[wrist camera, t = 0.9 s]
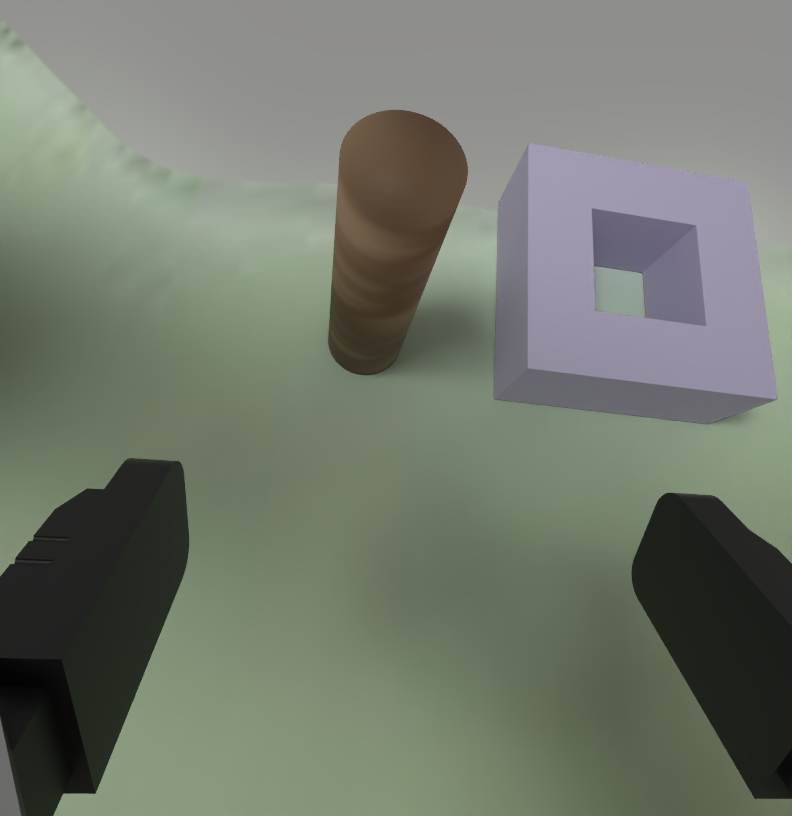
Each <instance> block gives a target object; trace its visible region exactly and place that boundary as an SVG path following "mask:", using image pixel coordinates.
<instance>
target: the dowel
mask: <svg viewBox="0 0 792 816" xmlns="http://www.w3.org/2000/svg"><path fill="white" fill-rule="evenodd" d="M467 175H468V166H467V161H466V157H465V154H464V152H463V150H462V148H461V146H460V144H459V143H458V141H457V140H456V138H455V137H454V136H453V135H452V134H451V133H450V132H449V131H448V130H447V129H446V128H445V127H443V126H442V125H441V124H439V123H438V122H436V121H435V120H433V119H431V118H429V117H426V116H424V115H421V114H418V113H414V112H410V111H403V110H387V111H381V112H377V113H374V114H371V115H369V116H367V117H365V118H363V119H361V120H360V121H358V122H357V123H356V124H355V125H354V126H352V127H351V129H350V130H349V131H348V132H347V134H346V136H345V137H344V139H343V142H342V145H341V149H340V158H339V175H338V190H337V206H336V223H335V239H334V255H333V271H332V287H331V304H330V320H329V336H328V343H329V349H330V352H331V354H332V356H333V358H334V359H335V360H336V362H337V363H338V364H339V365H340V366H342V367H343V368H344V369H346V370H348V371H350V372H352V373H355V374H360V375H372V374H376V373H379V372H381V371H384V370H385V369H387V368H388V367H389V366H390V365H391V364H392V363H393V362H394V361H395V359H396V357H397V355H398V353H399V350H400V348H401V345H402V343H403V340H404V338H405V335H406V333H407V330H408V328H409V326H410V323H411V321H412V318H413V316H414V313H415V311H416V308H417V306H418V303H419V301H420V298H421V296H422V293H423V291H424V288H425V286H426V283H427V281H428V278H429V276H430V273H431V271H432V268H433V266H434V263H435V261H436V258H437V256H438V253H439V251H440V248H441V246H442V243H443V241H444V238H445V236H446V233H447V231H448V228H449V226H450V223H451V221H452V218H453V216H454V213H455V211H456V208H457V206H458V203H459V201H460V198H461V196H462V193H463V191H464V188H465V185H466V182H467Z"/></svg>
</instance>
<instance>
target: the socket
mask: <svg viewBox="0 0 792 816" xmlns="http://www.w3.org/2000/svg"><path fill="white" fill-rule="evenodd" d="M594 265H595V266H602V267H608V268H615V269H621V270H628V271H635V272H641V273H643V285H644V300H645V315H646V318H643V317H636V316H629V315H622V314H615V313H608V312H600V311H595V285H594ZM494 399H498V400H507V401H516V402H524V403H533V404H541V405H550V406H558V407H567V408H575V409H584V410H592V411H601V412H609V413H618V414H626V415H635V416H643V417H652V418H660V419H669V420H677V421H686V422H694V423H703V424H709V423H712V422H715V421H718V420H721V419H723V418H726V417H729V416H732V415H735V414H738V413H740V412H743V411H746V410H749V409H752V408H755V407H757V406H760V405H763V404H766V403H769V402H772V401H775V400H777V393H776V386H775V378H774V371H773V364H772V356H771V349H770V341H769V334H768V327H767V319H766V312H765V305H764V297H763V290H762V282H761V275H760V268H759V260H758V253H757V246H756V239H755V231H754V224H753V216H752V209H751V202H750V194H749V187H748V182H746V181H740V180H735V179H729V178H723V177H718V176H712V175H707V174H701V173H695V172H690V171H684V170H678V169H672V168H667V167H661V166H656V165H650V164H644V163H639V162H633V161H627V160H622V159H616V158H610V157H605V156H599V155H593V154H588V153H582V152H577V151H570V150H565V149H559V148H553V147H548V146H543V145H537V144H531V143H528V145H527V147H526V149H525V151H524V153H523V155H522V157H521V159H520V161H519V163H518V165H517V167H516V169H515V171H514V172H513V174H512V176H511V179H510V180H509V182H508V184H507V186H506V188H505V190H504V192H503V194H502V196H501V198H500V200H499V202H498V240H497V284H496V328H495V372H494Z"/></svg>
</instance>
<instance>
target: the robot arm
mask: <svg viewBox="0 0 792 816" xmlns="http://www.w3.org/2000/svg"><path fill="white" fill-rule="evenodd" d="M188 551H189V530H188V517H187V505H186V493H185V481H184V471H183V467H182V464H181V463H180V462H179V461H167V460H151V459H135V458H129V459H127V460H126V461H125V462H124V463H123V464H122V465H121V467H120V468H119V469H118V471H117V472H116V474H115V475H114V476H113V478H112V479H111V481H110V482H109V483H108V485H107V486H106V488H105V489H86V490H84V491H83V492H81V493H80V494H78V495H76V496H75V497H73V498H72V499H70V500H69V501H67V502H66V503H64V504H63V505H61V506H59V507H58V508H56V509H55V510H54V511H53V512H52V514H51V515H50V516H49V517H48V519H47V520H46V521H45V522H44V524H43V525H42V526H41V527H40V528H39V530H38V531H37V532H36V533H35V535H34V539H33V541H29V542H28V543H27V544H26V546H25V547H24V548H23V549H22V551H21V552H20V553H19V554H18V556H17V557H16V558H15V563H14V564H10V565H9V567H8V568H7V569H6V570H5V572H4V573H3V574H2V575H1V576H0V816H53V815H54V813H55V810H56V808H57V806H58V804H59V801H60V799H61V797H62V795H63V793H88V794H96V791H97V789H98V786H99V784H100V781H101V779H102V776H103V774H104V771H105V769H106V766H107V764H108V761H109V759H110V756H111V754H112V752H113V749H114V747H115V744H116V742H117V739H118V737H119V734H120V732H121V729H122V727H123V724H124V722H125V719H126V717H127V714H128V712H129V709H130V707H131V704H132V702H133V700H134V697H135V695H136V692H137V690H138V687H139V685H140V682H141V680H142V677H143V675H144V672H145V670H146V667H147V665H148V662H149V660H150V657H151V655H152V652H153V650H154V647H155V645H156V643H157V640H158V638H159V635H160V633H161V630H162V628H163V625H164V623H165V620H166V618H167V615H168V613H169V610H170V608H171V605H172V603H173V600H174V598H175V595H176V593H177V590H178V588H179V586H180V583H181V581H182V578H183V575H184V572H185V568H186V564H187V559H188ZM632 583H633V588H634V591H635V594H636V596H637V598H638V600H639V602H640V603H641V605H642V607H643V609H644V610H645V612H646V614H647V615H648V617H649V619H650V620H651V622H652V624H653V626H654V627H655V629H656V631H657V632H658V634H659V636H660V638H661V639H662V641H663V643H664V644H665V646H666V648H667V649H668V651H669V653H670V655H671V656H672V658H673V660H674V661H675V663H676V665H677V667H678V668H679V670H680V672H681V673H682V675H683V677H684V679H685V680H686V682H687V684H688V685H689V687H690V689H691V690H692V692H693V694H694V696H695V697H696V699H697V701H698V702H699V704H700V706H701V708H702V709H703V711H704V713H705V714H706V716H707V718H708V720H709V721H710V723H711V725H712V726H713V728H714V730H715V731H716V733H717V735H718V737H719V738H720V740H721V742H722V743H723V745H724V747H725V749H726V750H727V752H728V754H729V755H730V757H731V759H732V760H733V762H734V764H735V766H736V767H737V769H738V771H739V772H740V774H741V776H742V778H743V779H744V781H745V783H746V784H747V786H748V788H749V790H750V791H751V793H752V795H753V796H754V798H755V799H792V564H791V562H790V561H789V560H788V559H787V558H786V557H785V556H784V555H783V554H782V553H781V552H780V551H779V550H778V549H777V548H775V547H774V546H772V545H771V544H769V543H768V542H766V541H765V540H763V539H762V538H760V537H759V536H757V535H756V534H754V533H753V532H751V531H750V530H749V529H748V528H747V527H746V526H745V525H744V524H743V523H742V522H741V521H740V520H739V519H738V518H737V517H736V516H735V515H734V514H733V513H732V512H731V511H730V510H729V509H728V508H727V507H726V505H725V504H724V503H723V502H722V501H721V500H719V499H718V498H716V497H715V496H711V495H696V494H680V493H666V494H664V495H663V496H662V497H661V498H660V499H659V500H658V502H657V504H656V506H655V509H654V511H653V514H652V516H651V518H650V521H649V523H648V526H647V528H646V531H645V533H644V536H643V538H642V540H641V543H640V545H639V548H638V550H637V553H636V555H635V558H634V560H633V564H632Z"/></svg>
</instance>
